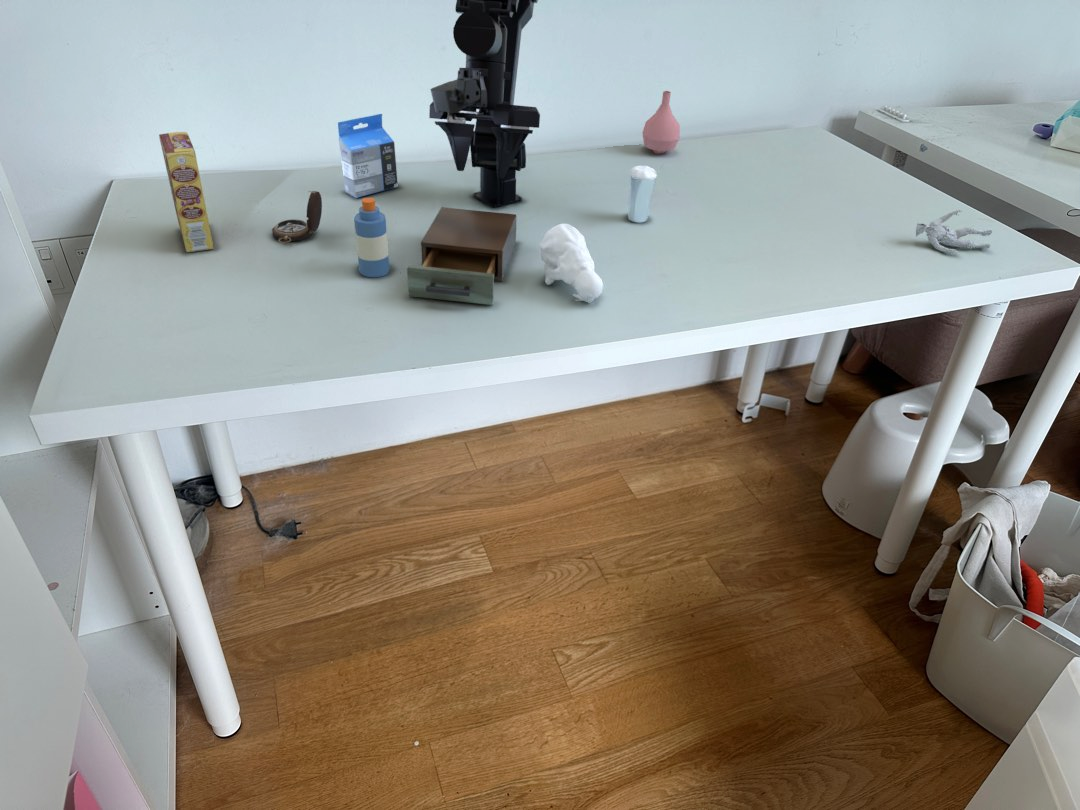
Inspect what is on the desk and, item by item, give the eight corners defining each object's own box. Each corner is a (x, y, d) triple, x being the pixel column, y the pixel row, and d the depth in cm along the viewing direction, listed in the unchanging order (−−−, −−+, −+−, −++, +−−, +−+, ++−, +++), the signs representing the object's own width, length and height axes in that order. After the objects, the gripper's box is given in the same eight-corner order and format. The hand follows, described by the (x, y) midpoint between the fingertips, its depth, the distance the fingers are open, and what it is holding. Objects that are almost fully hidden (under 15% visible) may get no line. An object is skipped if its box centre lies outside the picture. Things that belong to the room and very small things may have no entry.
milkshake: (654, 226, 135) (662, 169, 129) (622, 222, 135) (629, 165, 129) (656, 216, 138) (664, 159, 132) (626, 212, 139) (632, 156, 133)
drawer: (431, 255, 122) (429, 228, 119) (508, 262, 121) (508, 235, 118) (405, 302, 110) (403, 273, 107) (490, 311, 109) (490, 282, 106)
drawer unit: (442, 236, 128) (441, 206, 125) (515, 243, 127) (516, 214, 124) (422, 273, 118) (420, 242, 114) (501, 281, 117) (502, 250, 114)
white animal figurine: (575, 214, 115) (621, 255, 108) (568, 265, 121) (612, 307, 114) (538, 222, 113) (582, 264, 105) (533, 273, 118) (574, 317, 111)
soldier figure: (989, 264, 131) (932, 242, 128) (965, 271, 136) (909, 251, 132) (994, 220, 132) (937, 198, 129) (970, 229, 137) (915, 207, 134)
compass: (278, 225, 128) (271, 181, 124) (327, 227, 128) (322, 184, 124) (263, 246, 122) (255, 201, 118) (314, 249, 122) (308, 204, 118)
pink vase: (633, 152, 164) (640, 92, 157) (651, 142, 169) (658, 84, 162) (666, 161, 160) (675, 100, 153) (683, 151, 166) (693, 91, 158)
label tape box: (355, 199, 138) (348, 128, 131) (343, 191, 140) (336, 121, 133) (398, 188, 143) (394, 119, 135) (386, 181, 145) (381, 112, 138)
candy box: (216, 249, 121) (195, 150, 111) (186, 253, 119) (162, 153, 110) (208, 226, 127) (187, 130, 118) (180, 230, 125) (156, 133, 116)
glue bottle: (358, 264, 119) (350, 194, 112) (388, 262, 120) (382, 192, 113) (360, 279, 115) (352, 207, 109) (391, 276, 116) (386, 205, 110)
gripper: (401, 55, 115) (399, 167, 120) (487, 56, 103) (481, 180, 108) (460, 63, 123) (456, 168, 128) (546, 65, 111) (537, 180, 116)
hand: (480, 174), depth 120 cm, fingers open, 9 cm apart
